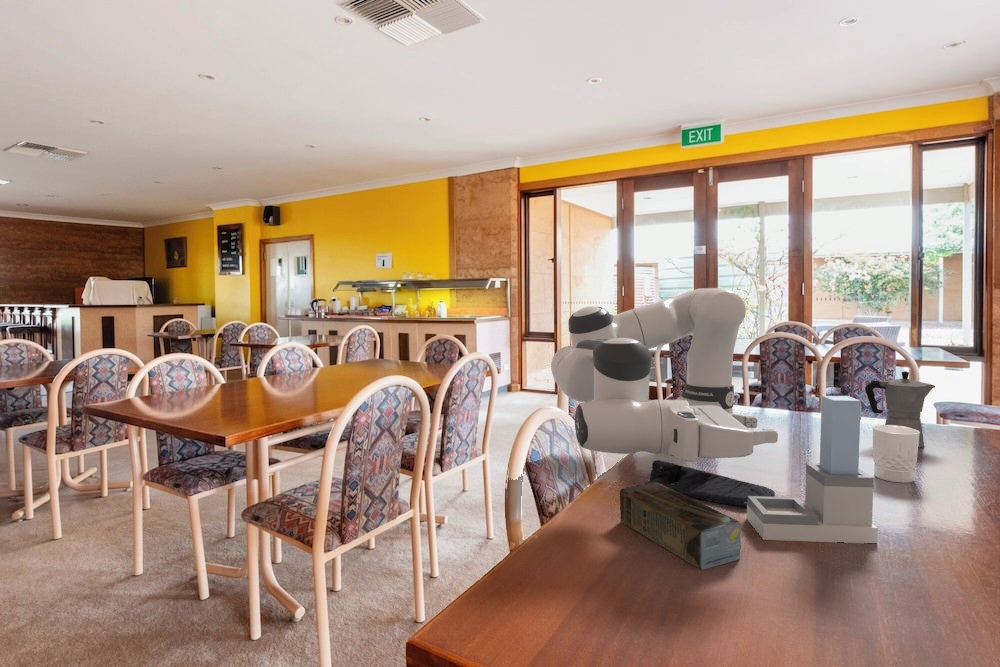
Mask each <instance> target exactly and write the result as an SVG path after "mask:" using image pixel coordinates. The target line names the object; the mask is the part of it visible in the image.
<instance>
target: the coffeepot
mask: <svg viewBox="0 0 1000 667" xmlns="http://www.w3.org/2000/svg"><path fill="white" fill-rule="evenodd" d="M909 374H910V372H909V371H901V377H902V378H897V379H890V380H889V379H888V380H871V381H870V382H869V383H868V384H867V385H866V386H865V387H864V388H865V389H864V391H865V393H866V395H867V399H868V403H869V406H870V408H871V411H872V413H874V414H883V411H884V409H879V408H878V402H877V400H876V397H875V392H874V389H881V390H884V393H885V394H884V395H885V396H884V397H885V403H886V409H887V416H886V419H885V420H886V421H885V424H884V425H893V426H902V427H908V428H912V429H915V430H918V431H919V432H920V435H919V445H918V447H921V448H924V447H925V441H924V435H923V427H922V420H921V413H922V411H923V409H924V404H925V403H924V402H925V398H926V397H927V396H928V395H929V393H930V392H931V391H932V390H933V389H934V388H936V385H934V384H929V383H926V382H922V381H916V380H915V379H914V380H913V379H909V376H910V375H909ZM923 446H924V447H923Z"/></svg>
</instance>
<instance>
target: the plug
mask: <svg viewBox="0 0 1000 667" xmlns="http://www.w3.org/2000/svg"><path fill="white" fill-rule="evenodd" d="M861 402H862V400H860V399H857V398H854V397H852V396H850V395H821V406H820V407H821V411H820V415H821V416H820V442H819V443H820V444H819V445H820V446H819V447H820V450H819V463H820V469H821V470H823V471H824V472H826V473H827V474H829V475H858V468H859V461H860V435H861V434H860V432H861V431H860V430H861V420H862V404H861Z"/></svg>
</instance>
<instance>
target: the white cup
mask: <svg viewBox="0 0 1000 667" xmlns="http://www.w3.org/2000/svg"><path fill="white" fill-rule="evenodd" d="M919 435H920V432H919V431H918V430H915V429H912V428H908V427H902V426H893V425H885V424H880V425H879V424H878V425H874V426H873V427H872V451H873V452H872V453H873V454H872V455H873V456H872V457H873V458H872V459H873V465H874V466H873V467H874V469H873V471H874V476H875V477H877V478H878V479H880V480H883V481H888V482H892V483H903V484H907V483H913V482H914V481H915V472H916V469H917V461H918V452H919V448H918V445H919Z"/></svg>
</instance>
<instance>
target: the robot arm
mask: <svg viewBox="0 0 1000 667" xmlns="http://www.w3.org/2000/svg"><path fill="white" fill-rule="evenodd" d="M746 312H747V310H746V303H745V302H744V300H743V298H742V297H741V296H740V295H739V294H738V293H736V292H735V291H732V290H730V289H727V288H724V287H705V288H704V287H702V288H701V287H700V288H696V289H693V290H690V291H687V292H683V293H681V294H678V295H675V296H672V297H669V298H666V299H664V300H660V301H656V302H653V303H650V304H646V305H642V306H639V307H635V308H632V309H629V310H625V311H623V312H620V313H617V314H614V315H613V314H611V313H610V312H609V311H608V310H607V309H606V308H604V307H602V306H593V305H592V306H585V307H582V308H580V309H578V310H577V311H575V312H573V313H572V314H571V315H570V317H569V318H568V332H569V334H570V338H571V339H570V340H571V344H572V345H566V346H563V347H561V348H560V349H558V350H557V351H556V352H555V353H554V355H553V357H552V359H551V363H550V369H551V370H550V371H551V375H552V378H553V379H554V382H555V383H556V385H557V386H558V388H559V389H560V390H561V391H562V393H564V395H566V396H567V397H568V398H569V399H570V400H573V401H576V402H580V403H578V404H577V406H576V409H575V412H574V430H575V437H576V440H577V443H578V444H579V446H580V447H581V448H582V449H585V450H589V451H593V452H599V453H600V452H601V453H608V454H625V455H631V454H637V453H643V452H644V453H650V454H653V455H661V456H663V455H664V456H665V455H666V456H667V455H668V456H672V457H673V456H675V457H677V458H679V459H681V460H683V461H686V462H698V460H699V457H700V458H705V459H730V458H731V459H732V458H745V457H748V456H750V455H752V454H753V453H754V446H759V445H764V444H776V443H777V442H778V440H779V439H778V438H779V436H778V435H779V434H778V431H776V430H774V429H771V428H769V429H768V428H762V429H761V430H760V429H759V430H754V429H756V428H757V427H758V419H757V417H755V415H754V416H753V415H743V414H736V413H734V409H733V408H734V404H735V402H734V401H735V400H734V399H735V388H734V387H735V386H734V384H733V363H734V351H735V346H736V342H737V338H738V333H739V330H740V326H741V324H742V323H743V321H745V317H746V315H747V314H746ZM691 335H692V340H691V342H690V346H689V349H688V351H687V354H686V382H684V383H683V384H681V385H678V386H677V387H678V389H677V391H681V392H680V396H679V397H677V399H652V400H650V373H651V368H652V358H653V354H652V353H651V351H650V350H651V349H654V348H659V347H662V346H665V345H668V344H672V343H674V342H676V341H678V340H680V339H682V338H685V337H688V336H691Z"/></svg>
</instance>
